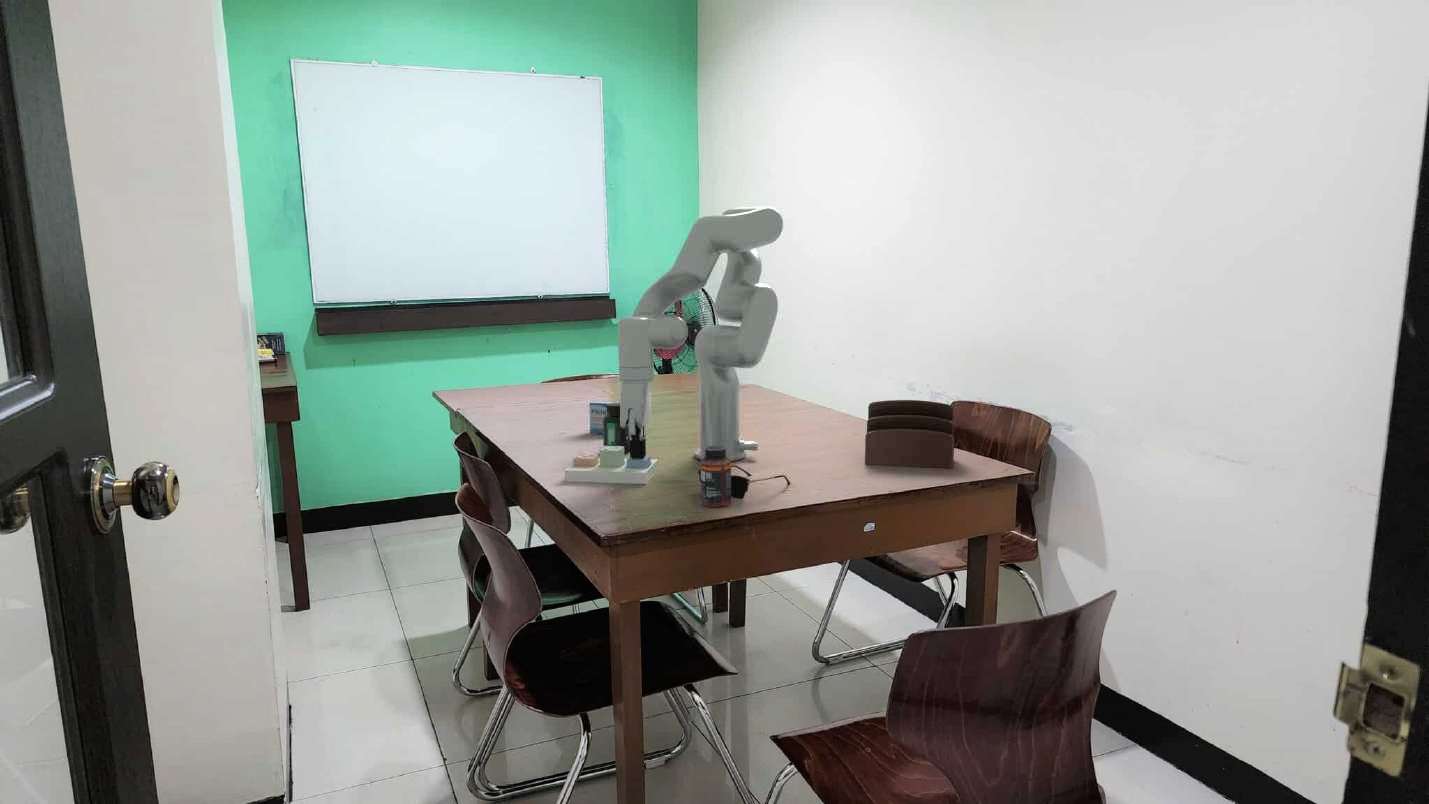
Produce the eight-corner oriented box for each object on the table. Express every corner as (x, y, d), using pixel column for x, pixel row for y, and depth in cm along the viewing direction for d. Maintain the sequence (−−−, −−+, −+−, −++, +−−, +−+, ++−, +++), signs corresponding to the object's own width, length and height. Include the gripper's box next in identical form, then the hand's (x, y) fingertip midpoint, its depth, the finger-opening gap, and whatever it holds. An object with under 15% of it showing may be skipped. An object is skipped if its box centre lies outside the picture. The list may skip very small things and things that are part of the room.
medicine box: (589, 434, 236) (588, 402, 235) (596, 430, 240) (595, 400, 239) (616, 435, 234) (615, 404, 232) (622, 432, 238) (621, 401, 237)
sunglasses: (696, 491, 180) (697, 467, 179) (745, 480, 192) (746, 458, 191) (748, 503, 171) (748, 478, 170) (795, 491, 183) (796, 468, 182)
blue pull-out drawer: (651, 473, 192) (650, 454, 191) (646, 478, 188) (646, 459, 187) (631, 472, 193) (631, 454, 192) (626, 477, 188) (626, 459, 188)
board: (658, 470, 196) (658, 459, 195) (646, 484, 184) (646, 472, 184) (581, 467, 198) (581, 457, 198) (564, 481, 187) (564, 470, 186)
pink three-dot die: (598, 471, 194) (598, 453, 193) (593, 476, 190) (592, 458, 189) (579, 471, 194) (579, 453, 194) (573, 476, 190) (573, 457, 190)
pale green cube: (624, 463, 193) (624, 445, 192) (619, 468, 188) (619, 449, 188) (605, 463, 193) (604, 445, 193) (599, 468, 189) (599, 449, 188)
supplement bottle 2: (730, 499, 172) (730, 444, 170) (732, 508, 166) (732, 450, 164) (700, 500, 172) (700, 444, 170) (701, 508, 166) (700, 451, 164)
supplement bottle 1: (613, 456, 210) (612, 407, 208) (598, 451, 215) (596, 404, 213) (636, 452, 214) (635, 404, 212) (621, 447, 219) (620, 400, 217)
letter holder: (867, 455, 209) (868, 398, 207) (952, 459, 204) (954, 400, 202) (864, 465, 199) (865, 405, 197) (953, 469, 195) (955, 408, 192)
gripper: (627, 369, 194) (629, 449, 197) (610, 378, 180) (612, 464, 183) (660, 370, 193) (661, 450, 196) (645, 379, 179) (647, 465, 182)
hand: (638, 457), depth 189 cm, fingers closed
